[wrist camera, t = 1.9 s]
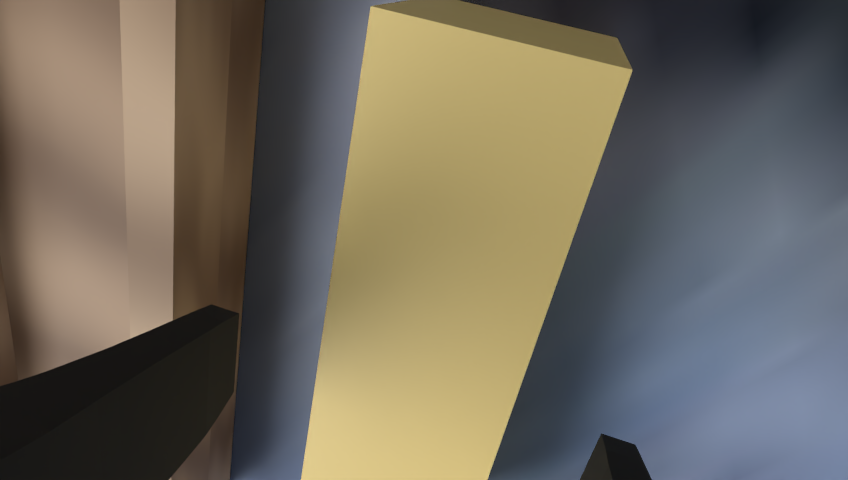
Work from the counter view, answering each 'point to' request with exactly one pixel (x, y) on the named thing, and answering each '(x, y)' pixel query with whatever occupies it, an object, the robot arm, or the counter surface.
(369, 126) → the pale yellow bar
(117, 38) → the slot board
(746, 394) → the counter surface
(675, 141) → the counter surface
